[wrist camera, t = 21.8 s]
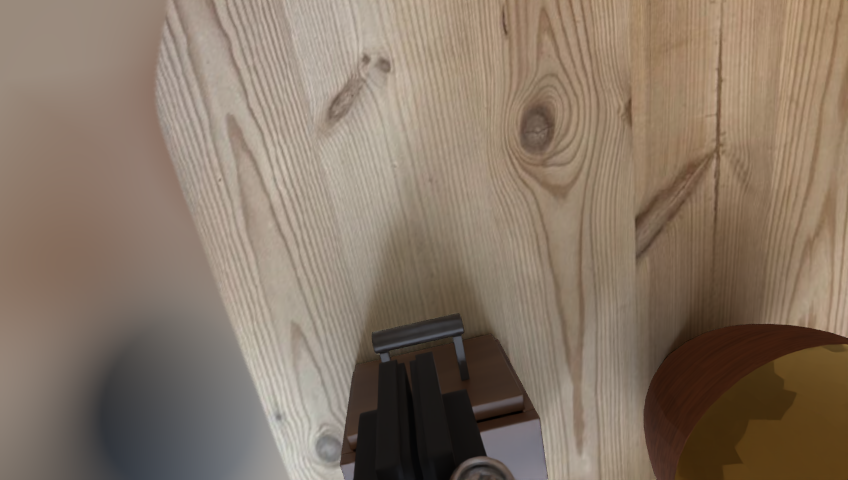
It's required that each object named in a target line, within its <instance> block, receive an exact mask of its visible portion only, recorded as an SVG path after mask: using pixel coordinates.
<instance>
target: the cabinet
mask: <svg viewBox="0 0 848 480" xmlns="http://www.w3.org/2000/svg"><path fill="white" fill-rule="evenodd" d="M495 341H496V343H497V345H498V347H499V349H500V351H501V353H502V355H503V357H504V359H505V361H506V363H507V365H508V366H509V368H510V370H511V372H512V374H513V376H514V378H515V380H516V382H517V384H518V386H519V388H520V390H521V392H522V394H523V398H524V405H525V409H524V410H520V411H516V412H512V413H511V415H510V416H506V417H502V418H497V419H493V420H489V421H485V422H480V423H477V425H478V428H479V431H480V435H481V438H482V441H483V444H484V448H485V451H486V454H487V457H491V458H494V459H498V460H499V461H501V462H502V463H504V464H505V465H506V466H507V468H508V469H509V470H510V471H511V473H512V475H513V477H514V478H515V480H548V474H547V467H546V460H545V452H544V445H543V438H542V431H541V424H540V418H539V416H538V414H537V412H536V410H535V408H534V406H533V404H532V402H531V401H530V399H529V397H528V395H527V393H526V391H525V389H524V387H523V385H522V384H521V382H520V380H519V378H518V376H517V374H516V372H515V370H514V368H513V367H512V365H511V363H510V361H509V359H508V357H507V355H506V353H505V352H504V350H503V348H502V346H501V344H500V342H499V340H498V339H496V340H495ZM354 374H355V372H353V376H352V382H351V389H350V396H349V403H348V410H347V417H346V424H345V431H344V438H343V445H342V453H341V461H340V467H341V470H342V473H343V476H344V479H345V480H353V476H354V466H355V456H356V449H354V450H351V449H350V447H349V443H348V440H347V437H346V433H347V426H348V418H349V411H350V404H351V396H352V389H353V381H354Z"/></svg>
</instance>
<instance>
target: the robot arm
mask: <svg viewBox="0 0 848 480" xmlns="http://www.w3.org/2000/svg"><path fill="white" fill-rule="evenodd" d="M415 358H416V360H412V361H409V363H410V374H411V384H412V391H411V387H410V383H409V379H408V375H407V371H406V367H405V363H399V364H398V362H397V359H395V360H391V361H386V362H382V363H379V374H378V403H377V409H376V410H372V411H367V412H363V413H361V414H360V416H359V425H358V435H357V445H356V456H355V466H354V476H353V480H515V478H514V477H513V475H512V473H511V471H510V470H509V469H508V468H507V466H506V465H505V464H504V463H502V462H501V461H499V460H498V459H494V458H491V457H487V454H486V451H485V448H484V444H483V441H482V438H481V435H480V431H479V428H478V425H477V422H476V418H475V415H474V412H473V409H472V405H471V402H470V399H469V396H468V392H467V390H466V389H462V390H458V391H453V392H449V393H445V394H442V393H441V389H440V384H439V380H438V375H437V371H436V366H435V362H434V357H433V353H432V351H430V352H426V353H421V354H417V355H415Z"/></svg>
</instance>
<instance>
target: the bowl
mask: <svg viewBox="0 0 848 480" xmlns="http://www.w3.org/2000/svg"><path fill="white" fill-rule="evenodd" d="M644 431H645V439H646V445H647V449H648V453H649V458H650V461H651V464H652V468H653V471H654V474H655V476H656V478H657V480H848V338H846V337H843V336H839V335H836V334H833V333H830V332H826V331H821V330H816V329H812V328H806V327H799V326H792V325H778V324H746V325H736V326H728V327H724V328H719V329H715V330H712V331H709V332H705V333H703V334H701V335H699V336H697V337H695V338H693V339H691V340H689V341H687V342H686V343H684V344H683V345H682V346H680V347H679V348H678V349H676V350H675V351H673V352H672V353H671V354H670V355H669V356H668V357H667V358H666V359H665V360H664V362H663V363H662V364H661V365H660V367H659V368H658V370H657V372H656V373H655V375H654V377H653V379H652V381H651V383H650V386H649V389H648V392H647V395H646V400H645V407H644Z"/></svg>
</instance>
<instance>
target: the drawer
mask: <svg viewBox="0 0 848 480" xmlns="http://www.w3.org/2000/svg"><path fill="white" fill-rule="evenodd" d="M461 334H464V327H463V323H462V319H461V316H460V314H459V313H457V314H452V315H448V316H443V317H439V318H435V319H430V320H426V321H421V322H417V323H412V324H408V325H404V326H399V327H395V328H390V329H386V330H381V331H377V332H373V333H372V343H373V347H374V351H375V353H376V354H378V353H380V358H381V359H379V360H374V361H370V362H366V363H361V364H357V365H356V366H355V374H354V381H353V389H352V396H351V404H350V411H349V418H348V426H347V433H346V437H347V440H348V443H349V447H350V449H351V450H354V449H356V445H357V435H358V425H359V416H360V414H361V413H363V412H367V411H372V410H376V409H377V403H378V374H379V363H382V362H386V361H391V360H395V359H397V362H398V364H399V363H405V367H406V371H407V375H408V379H409V383H410V387H411V391H412V384H411V374H410V363H409V361H412V360H416V358H415V355H417V354H421V353H426V352H430V351H432V353H433V357H434V362H435V366H436V371H437V375H438V380H439V384H440V389H441V393H442V394H445V393H449V392H453V391H458V390H462V389H466V390H467V392H468V396H469V399H470V402H471V405H472V409H473V412H474V415H475V418H476V422H477V423H480V422H485V421H489V420H493V419H497V418H502V417H506V416H510V415H511V413H512V412H516V411H520V410H524V409H525V405H524V398H523V394H522V392H521V390H520V388H519V386H518V384H517V382H516V380H515V378H514V376H513V374H512V372H511V370H510V368H509V366H508V365H507V363H506V361H505V359H504V357H503V355H502V353H501V351H500V349H499V347H498V345H497V343H496V341H495V339H494V337H493V335H492V334H488V335H484V336H480V337H475V338H471V339H466V340H462V336H461ZM448 337H452V338H453V343H449V344H444V345H440V346H436V347H431V348H427V349H423V350H418V351H414V352H409V353H405V354H401V355H396V356H392V357H390V353H389V351H391V350H395V349H399V348H404V347H408V346H413V345H417V344H421V343H426V342H430V341H435V340H439V339H443V338H448Z"/></svg>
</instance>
